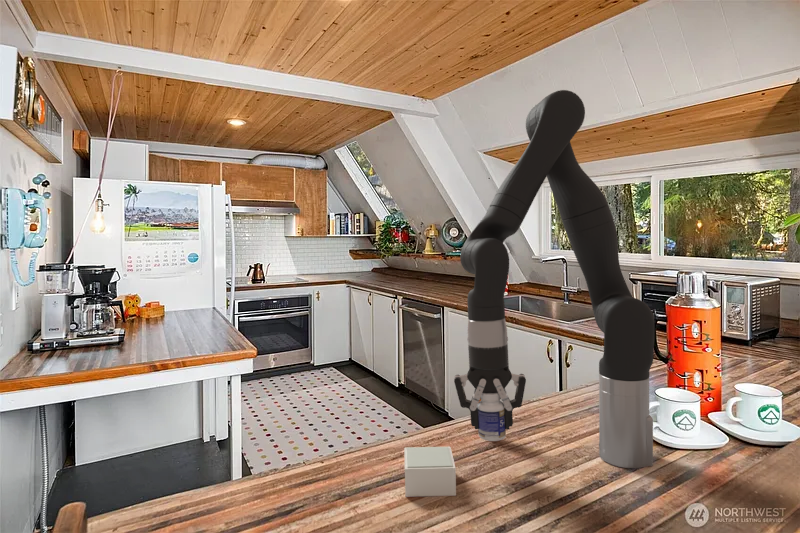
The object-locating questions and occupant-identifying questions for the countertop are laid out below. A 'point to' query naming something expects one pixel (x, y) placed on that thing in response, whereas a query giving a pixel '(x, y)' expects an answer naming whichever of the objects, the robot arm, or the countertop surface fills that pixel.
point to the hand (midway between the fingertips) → (491, 427)
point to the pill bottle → (491, 417)
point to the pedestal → (429, 471)
